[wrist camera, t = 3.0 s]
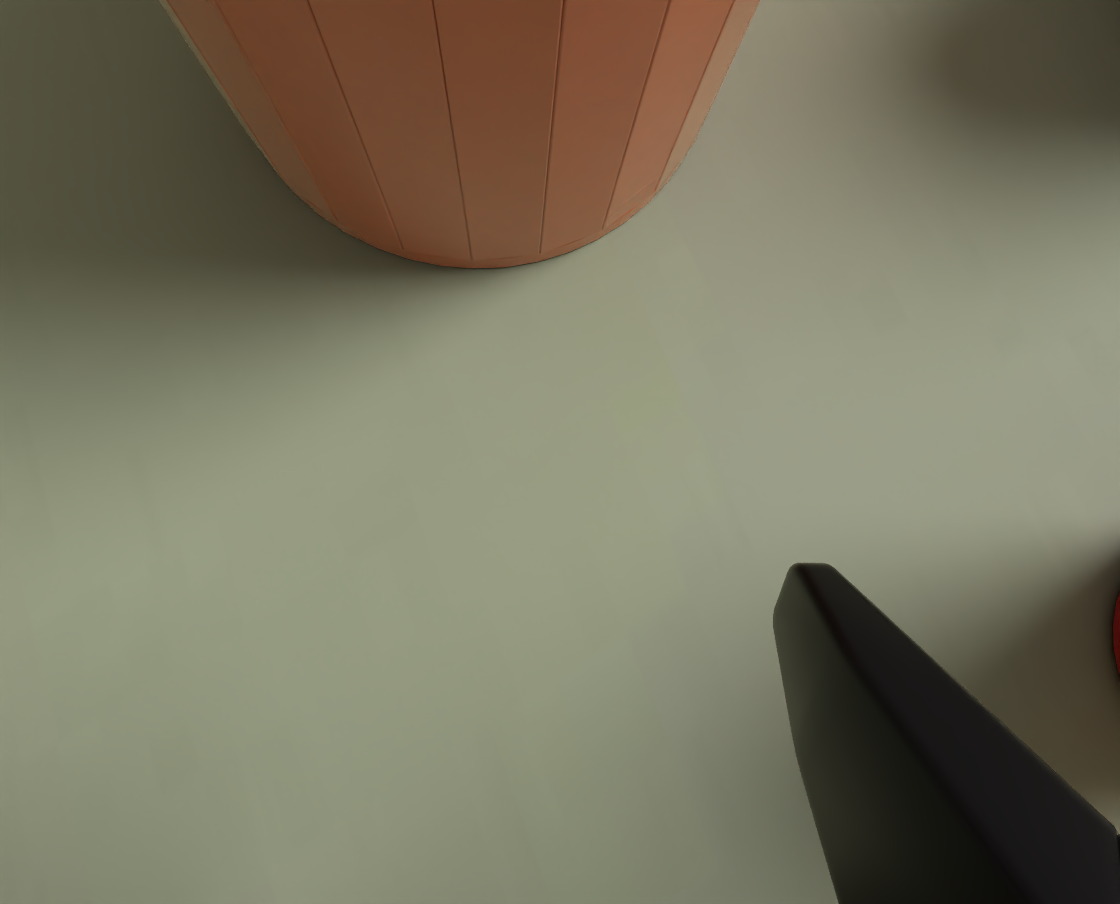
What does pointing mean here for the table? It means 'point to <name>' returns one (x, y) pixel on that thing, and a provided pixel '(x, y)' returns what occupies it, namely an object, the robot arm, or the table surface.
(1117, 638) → the canned food
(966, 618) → the table surface
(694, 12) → the bucket
